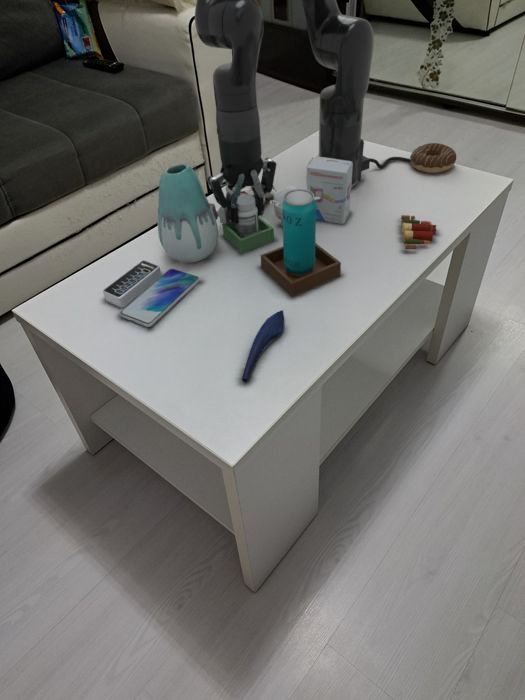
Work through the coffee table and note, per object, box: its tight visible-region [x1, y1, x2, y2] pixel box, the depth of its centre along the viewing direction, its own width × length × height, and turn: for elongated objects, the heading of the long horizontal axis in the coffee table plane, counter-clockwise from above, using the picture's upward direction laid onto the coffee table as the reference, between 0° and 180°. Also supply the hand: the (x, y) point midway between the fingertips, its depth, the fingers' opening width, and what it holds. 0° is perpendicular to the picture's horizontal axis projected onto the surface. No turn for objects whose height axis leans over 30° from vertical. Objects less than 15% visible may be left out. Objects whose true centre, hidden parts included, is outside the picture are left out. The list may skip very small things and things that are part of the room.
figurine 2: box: [269, 185, 320, 227], centre depth 103 cm, size 12×8×10 cm
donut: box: [409, 142, 457, 174], centre depth 119 cm, size 11×11×4 cm
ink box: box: [306, 155, 353, 225], centre depth 103 cm, size 9×5×12 cm, turn 68°
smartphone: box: [119, 268, 200, 328], centre depth 90 cm, size 7×1×15 cm
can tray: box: [260, 242, 342, 298], centre depth 93 cm, size 11×11×3 cm
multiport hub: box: [102, 260, 163, 309], centre depth 92 cm, size 4×11×2 cm, turn 147°
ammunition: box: [400, 214, 437, 250], centre depth 99 cm, size 12×2×6 cm
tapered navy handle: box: [241, 310, 285, 383], centre depth 79 cm, size 16×4×2 cm, turn 157°
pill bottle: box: [235, 195, 259, 239], centre depth 99 cm, size 5×5×8 cm
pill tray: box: [221, 216, 275, 254], centre depth 102 cm, size 8×8×3 cm
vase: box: [157, 162, 219, 263], centre depth 94 cm, size 12×12×18 cm
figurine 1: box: [209, 185, 276, 224], centre depth 107 cm, size 6×6×20 cm
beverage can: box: [282, 188, 317, 276], centre depth 88 cm, size 6×6×15 cm
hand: (246, 217), depth 99 cm, fingers closed on pill bottle, 4 cm apart
